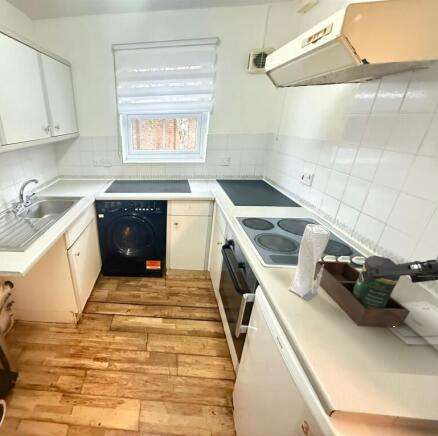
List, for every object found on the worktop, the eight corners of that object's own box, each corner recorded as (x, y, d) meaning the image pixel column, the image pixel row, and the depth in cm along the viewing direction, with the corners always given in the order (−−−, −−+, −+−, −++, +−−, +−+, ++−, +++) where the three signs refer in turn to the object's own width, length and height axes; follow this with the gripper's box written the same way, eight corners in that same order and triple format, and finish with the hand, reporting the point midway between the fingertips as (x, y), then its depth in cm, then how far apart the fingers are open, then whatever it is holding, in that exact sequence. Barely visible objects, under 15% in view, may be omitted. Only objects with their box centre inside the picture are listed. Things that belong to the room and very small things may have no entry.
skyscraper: (305, 302, 83) (329, 231, 72) (283, 289, 90) (301, 222, 79) (317, 294, 87) (341, 225, 76) (295, 282, 94) (314, 216, 83)
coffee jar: (382, 323, 74) (407, 273, 66) (350, 312, 78) (370, 265, 70) (376, 304, 81) (398, 258, 74) (347, 295, 85) (365, 250, 78)
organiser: (341, 275, 97) (347, 261, 95) (400, 328, 73) (410, 311, 70) (310, 274, 98) (314, 260, 96) (357, 325, 74) (365, 309, 71)
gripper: (527, 248, 52) (427, 266, 72) (406, 244, 54) (340, 263, 73) (547, 283, 49) (437, 292, 69) (419, 278, 51) (347, 288, 71)
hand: (387, 277), depth 71 cm, fingers open, 13 cm apart
